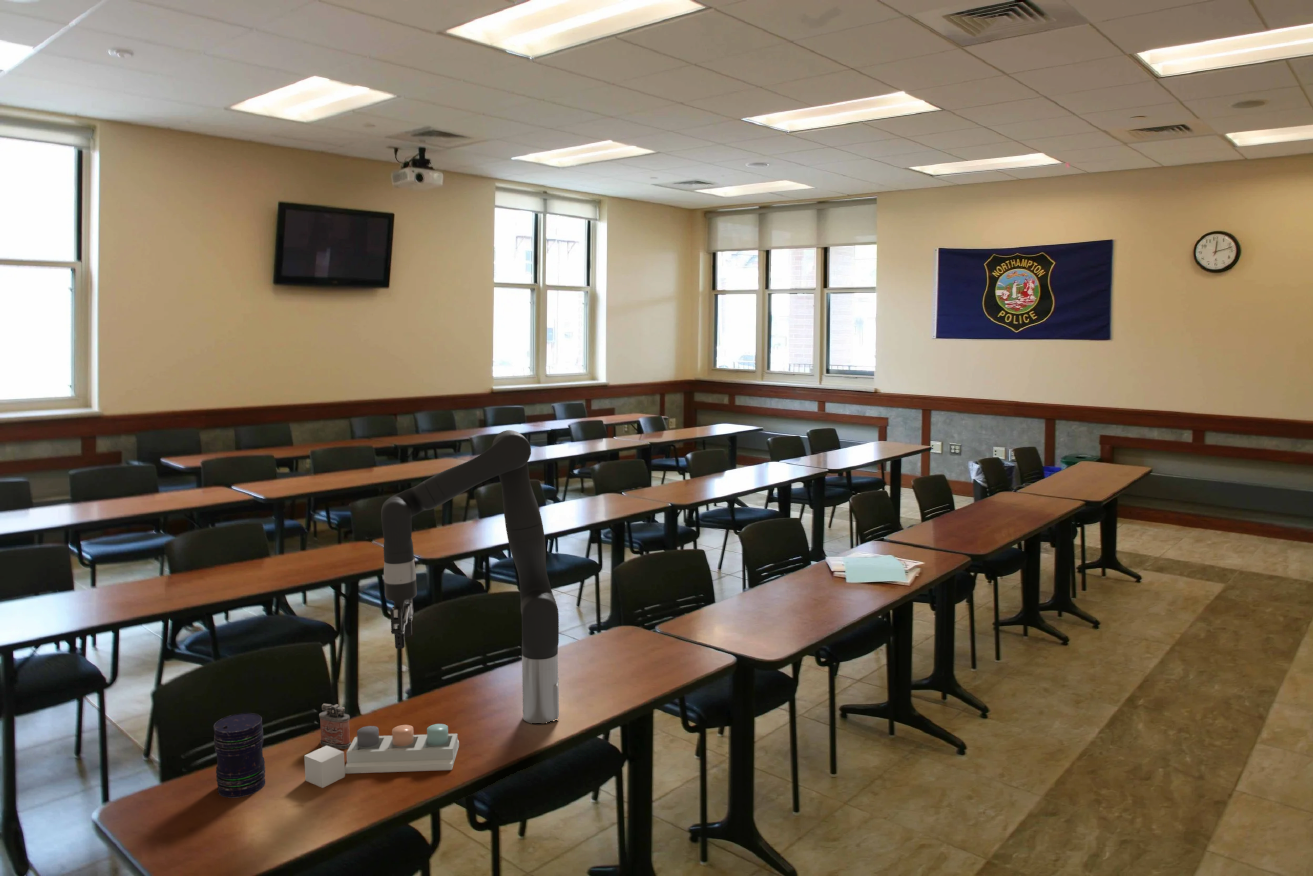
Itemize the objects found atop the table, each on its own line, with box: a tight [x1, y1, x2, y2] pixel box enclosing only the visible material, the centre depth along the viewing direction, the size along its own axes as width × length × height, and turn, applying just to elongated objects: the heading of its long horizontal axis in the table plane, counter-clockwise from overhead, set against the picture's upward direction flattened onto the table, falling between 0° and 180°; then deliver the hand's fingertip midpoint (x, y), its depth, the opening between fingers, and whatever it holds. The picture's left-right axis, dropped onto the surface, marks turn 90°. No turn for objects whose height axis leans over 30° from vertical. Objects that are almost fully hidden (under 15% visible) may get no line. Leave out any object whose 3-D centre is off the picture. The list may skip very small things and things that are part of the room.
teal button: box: [426, 723, 449, 745], centre depth 217 cm, size 5×5×3 cm
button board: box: [345, 733, 460, 775], centre depth 217 cm, size 24×12×4 cm, turn 94°
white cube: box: [304, 745, 346, 789], centre depth 208 cm, size 6×6×6 cm
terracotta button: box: [391, 724, 415, 746], centre depth 216 cm, size 5×5×3 cm
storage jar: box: [213, 712, 266, 799], centre depth 203 cm, size 10×10×15 cm
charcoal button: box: [356, 725, 380, 747], centre depth 216 cm, size 5×5×3 cm
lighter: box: [318, 703, 352, 750], centre depth 224 cm, size 8×3×10 cm, turn 71°
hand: (403, 642), depth 228 cm, fingers open, 8 cm apart
